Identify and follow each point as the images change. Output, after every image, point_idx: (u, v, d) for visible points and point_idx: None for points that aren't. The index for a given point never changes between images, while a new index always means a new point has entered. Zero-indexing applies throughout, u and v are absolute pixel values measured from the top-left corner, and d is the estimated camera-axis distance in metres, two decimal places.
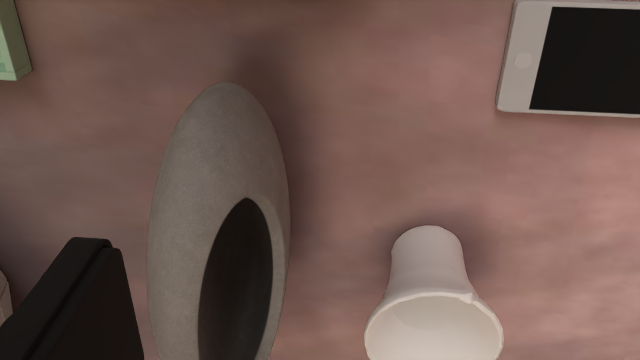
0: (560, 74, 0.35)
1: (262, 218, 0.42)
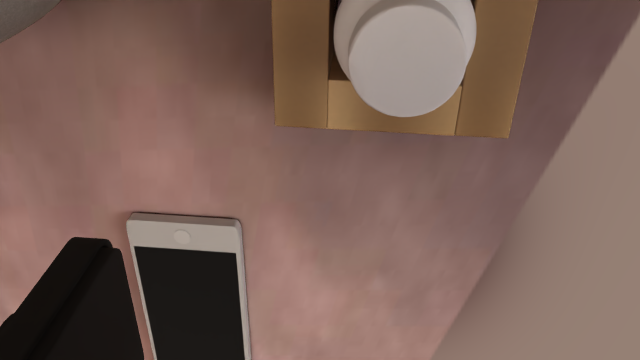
0: (174, 266, 0.36)
1: None
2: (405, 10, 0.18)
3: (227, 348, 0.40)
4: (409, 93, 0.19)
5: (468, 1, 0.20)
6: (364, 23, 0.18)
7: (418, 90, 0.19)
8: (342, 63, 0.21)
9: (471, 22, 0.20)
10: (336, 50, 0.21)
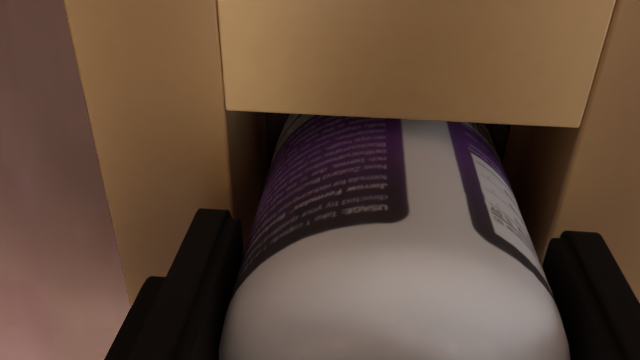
0: None
1: None
2: None
3: None
4: None
5: (557, 329, 0.08)
6: None
7: None
8: None
9: None
10: None
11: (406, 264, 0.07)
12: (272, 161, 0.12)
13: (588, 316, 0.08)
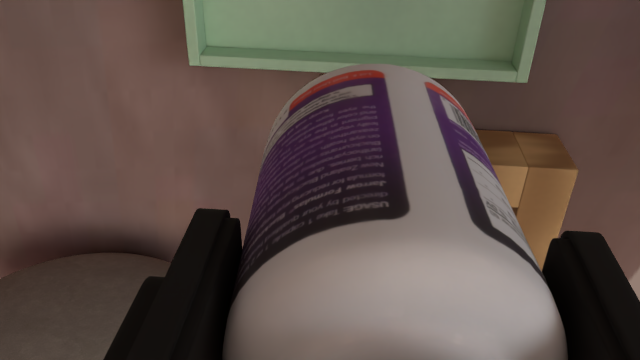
0: None
1: None
2: None
3: None
4: None
5: (555, 317, 0.08)
6: None
7: None
8: None
9: None
10: None
11: (411, 259, 0.07)
12: (263, 162, 0.12)
13: (589, 316, 0.08)
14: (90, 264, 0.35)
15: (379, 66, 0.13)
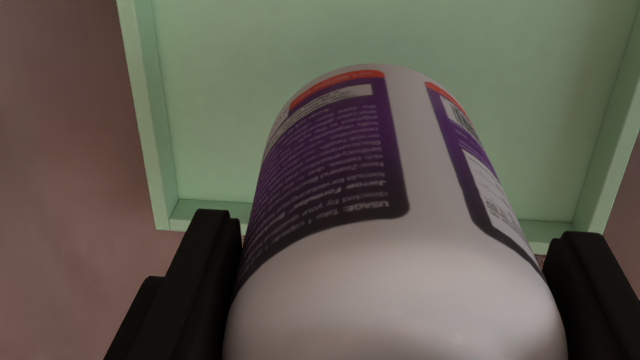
0: None
1: None
2: None
3: None
4: None
5: (555, 317, 0.08)
6: None
7: None
8: None
9: None
10: None
11: (411, 257, 0.07)
12: (263, 162, 0.12)
13: (589, 316, 0.08)
14: None
15: (379, 66, 0.13)
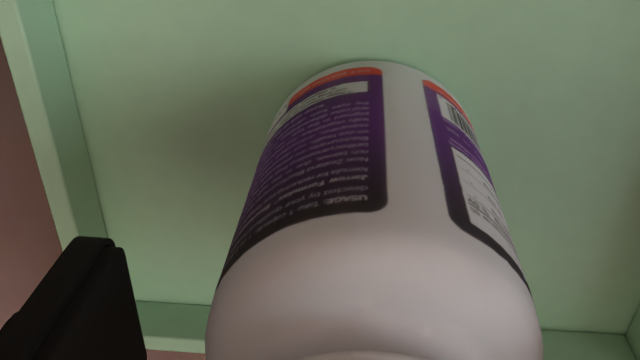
0: None
1: None
2: None
3: None
4: None
5: (528, 314, 0.08)
6: None
7: None
8: None
9: None
10: None
11: (383, 250, 0.07)
12: None
13: None
14: None
15: (378, 63, 0.13)
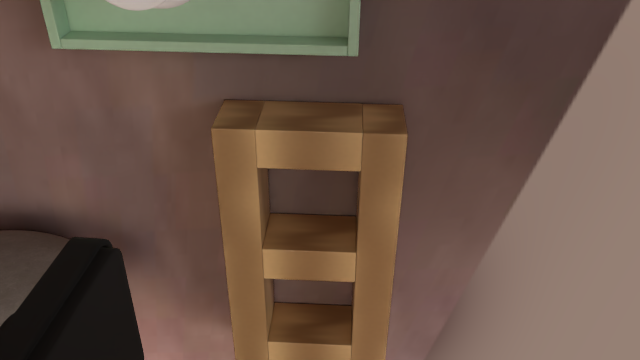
0: None
1: None
2: None
3: None
4: None
5: None
6: None
7: None
8: None
9: None
10: None
11: None
12: None
13: None
14: None
15: None
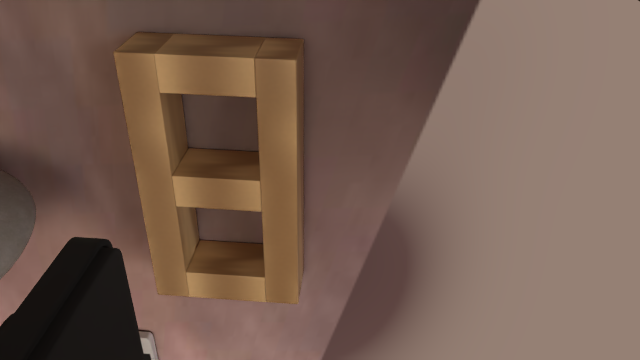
0: None
1: None
2: None
3: None
4: None
5: None
6: None
7: None
8: None
9: None
10: None
11: None
12: None
13: None
14: None
15: None
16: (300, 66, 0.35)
